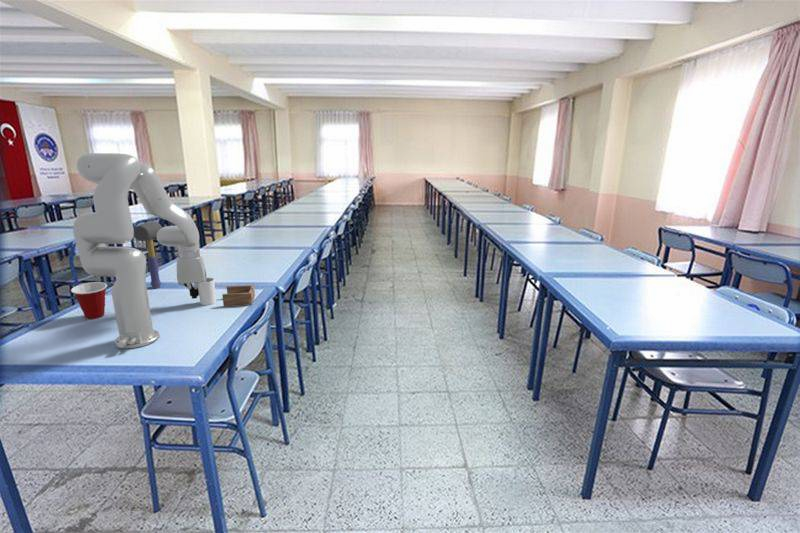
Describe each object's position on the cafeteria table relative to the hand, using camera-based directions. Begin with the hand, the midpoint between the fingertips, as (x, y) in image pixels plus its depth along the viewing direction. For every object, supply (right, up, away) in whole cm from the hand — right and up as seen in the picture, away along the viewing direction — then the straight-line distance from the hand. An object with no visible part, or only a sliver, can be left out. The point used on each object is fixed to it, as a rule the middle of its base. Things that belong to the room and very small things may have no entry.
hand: (194, 297), depth 169 cm
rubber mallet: (-27, +3, +19) cm, 34 cm away
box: (+17, -2, +4) cm, 18 cm away
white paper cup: (+5, -3, +2) cm, 6 cm away
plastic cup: (-31, -6, -14) cm, 34 cm away
